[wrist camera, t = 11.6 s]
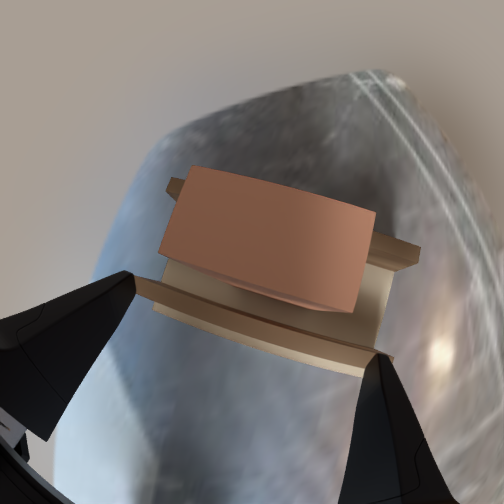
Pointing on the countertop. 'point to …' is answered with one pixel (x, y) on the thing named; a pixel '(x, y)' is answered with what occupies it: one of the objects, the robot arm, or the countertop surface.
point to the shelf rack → (284, 309)
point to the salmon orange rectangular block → (270, 239)
